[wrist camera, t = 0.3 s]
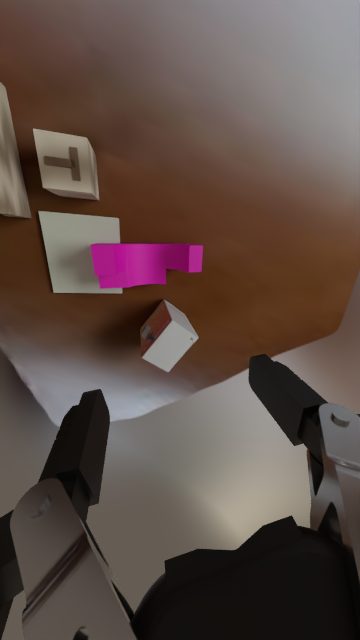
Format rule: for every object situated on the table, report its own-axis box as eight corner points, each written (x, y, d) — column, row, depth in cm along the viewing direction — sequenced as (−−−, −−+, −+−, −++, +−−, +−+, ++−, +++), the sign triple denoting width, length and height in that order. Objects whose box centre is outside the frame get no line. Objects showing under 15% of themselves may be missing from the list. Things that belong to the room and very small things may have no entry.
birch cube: (52, 149, 26) (32, 127, 21) (95, 155, 27) (86, 136, 22) (59, 196, 28) (42, 187, 23) (99, 200, 30) (91, 192, 24)
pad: (40, 211, 28) (38, 211, 28) (118, 218, 31) (118, 218, 30) (55, 291, 33) (53, 292, 32) (122, 292, 35) (122, 293, 35)
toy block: (102, 282, 33) (98, 293, 26) (96, 243, 31) (90, 245, 24) (186, 278, 37) (200, 288, 30) (187, 243, 34) (202, 245, 28)
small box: (163, 298, 37) (172, 318, 28) (184, 313, 40) (200, 337, 30) (139, 328, 39) (140, 358, 29) (160, 342, 41) (168, 373, 32)
